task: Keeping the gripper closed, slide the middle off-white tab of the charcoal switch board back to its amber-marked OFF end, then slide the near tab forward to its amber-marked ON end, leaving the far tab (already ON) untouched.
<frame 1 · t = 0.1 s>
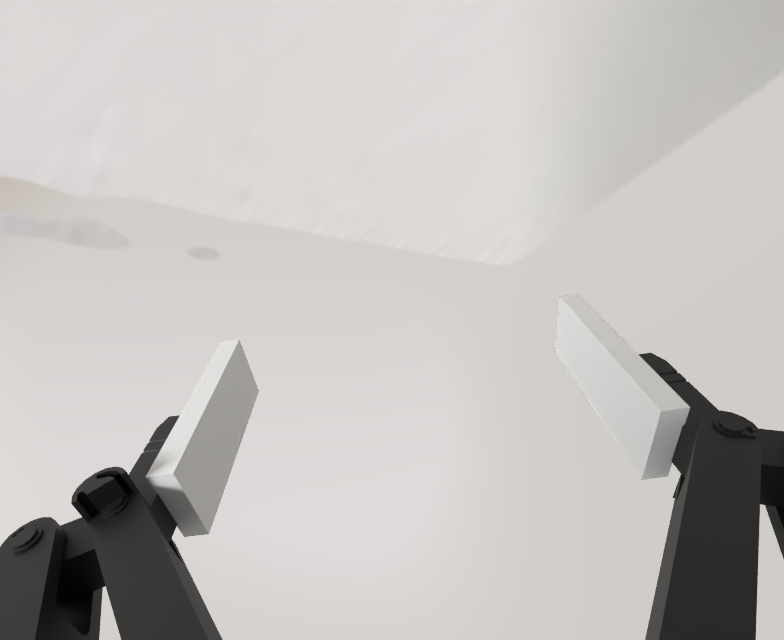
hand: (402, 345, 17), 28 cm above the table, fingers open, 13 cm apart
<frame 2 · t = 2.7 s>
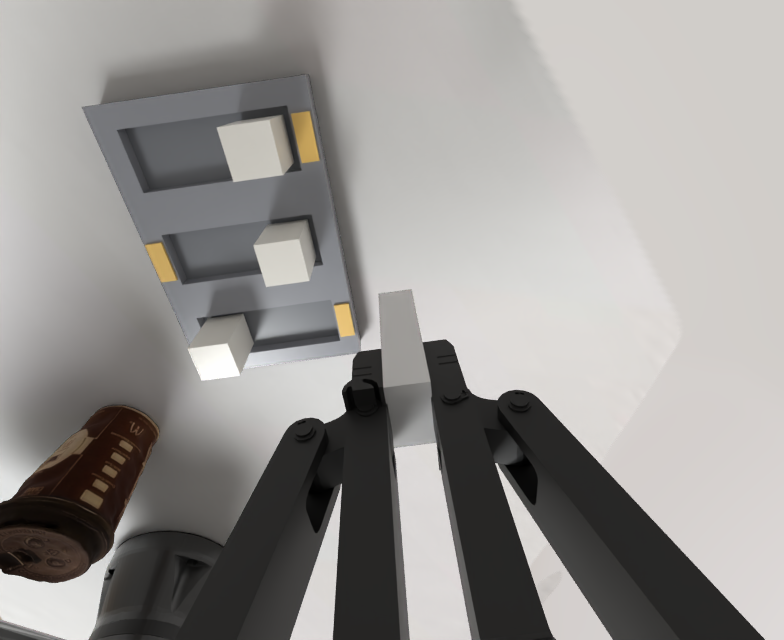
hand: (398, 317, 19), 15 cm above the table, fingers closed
tab C: (259, 146, 26), point 4 cm above the table, slide at 7.0 cm
tab B: (287, 251, 29), point 4 cm above the table, slide at 7.0 cm
tab A: (223, 345, 33), point 4 cm above the table, slide at 0.0 cm
switch board: (251, 241, 32), on the table
coffee cup: (125, 426, 41), on the table
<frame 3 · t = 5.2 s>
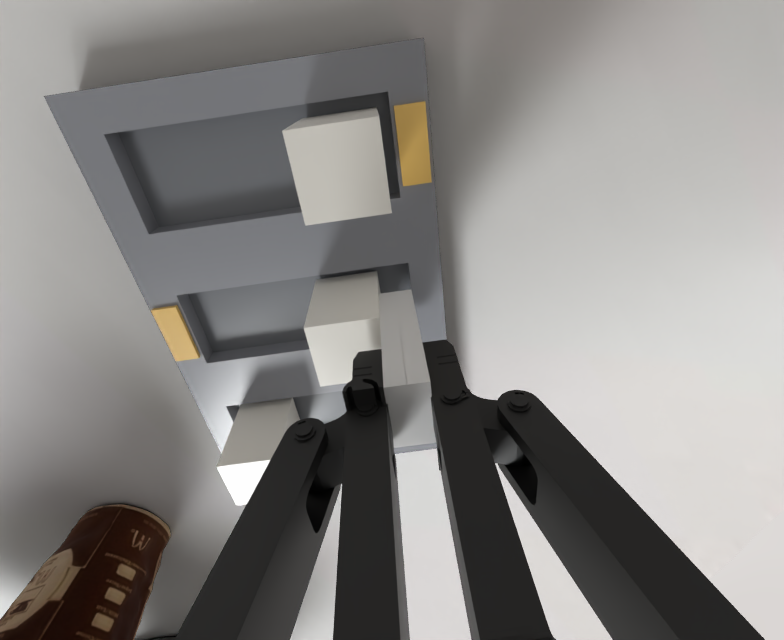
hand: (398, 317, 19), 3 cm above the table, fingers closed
tab C: (343, 161, 15), point 4 cm above the table, slide at 7.0 cm
tab B: (350, 325, 19), point 4 cm above the table, slide at 6.0 cm, touching gripper
tab A: (265, 448, 23), point 4 cm above the table, slide at 0.0 cm
switch board: (307, 297, 22), on the table
coffee cup: (126, 525, 31), on the table
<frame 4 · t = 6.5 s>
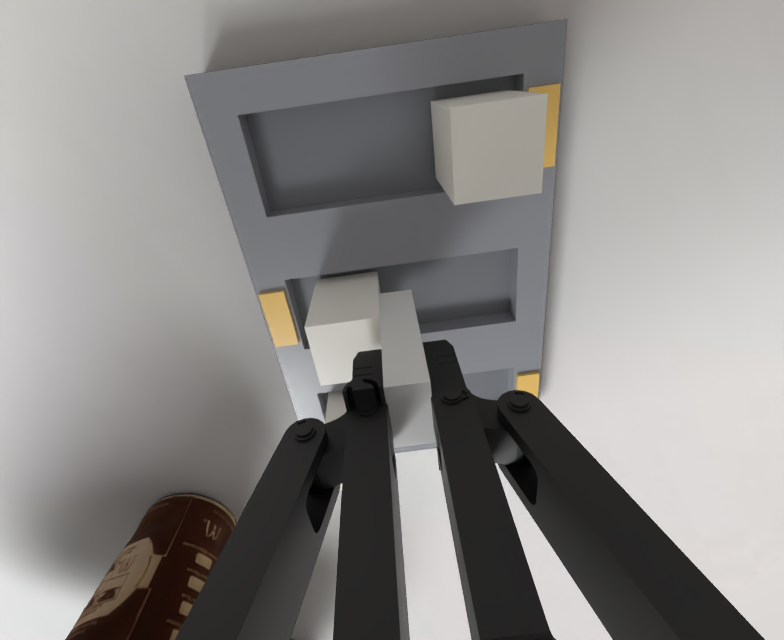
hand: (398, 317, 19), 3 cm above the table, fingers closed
tab C: (481, 143, 15), point 4 cm above the table, slide at 7.0 cm
tab B: (350, 325, 19), point 4 cm above the table, slide at 0.8 cm, touching gripper
tab A: (358, 435, 23), point 4 cm above the table, slide at 0.0 cm
switch board: (402, 284, 22), on the table
coffee cup: (191, 516, 31), on the table
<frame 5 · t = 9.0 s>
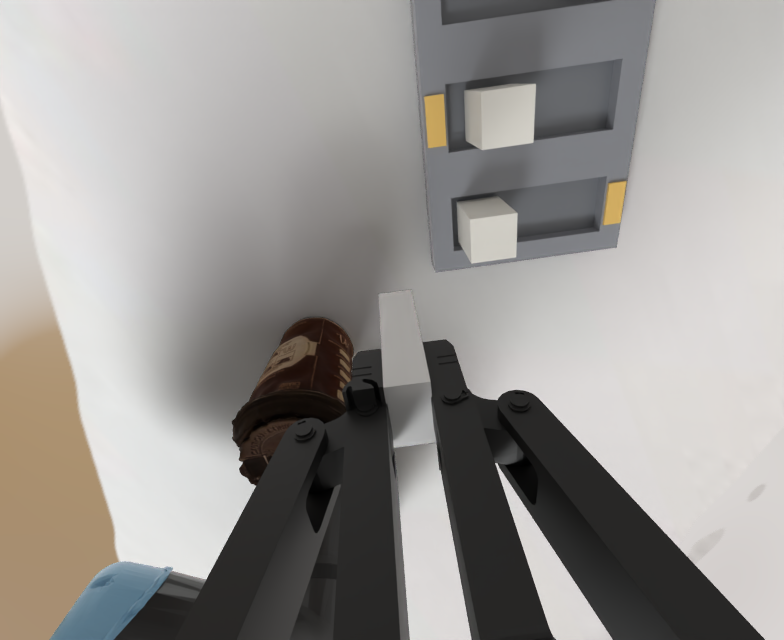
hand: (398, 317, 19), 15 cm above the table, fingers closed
tab B: (497, 115, 25), point 4 cm above the table, slide at 0.8 cm
tab A: (485, 228, 29), point 4 cm above the table, slide at 0.0 cm
switch board: (521, 106, 28), on the table
coffee cup: (315, 345, 37), on the table
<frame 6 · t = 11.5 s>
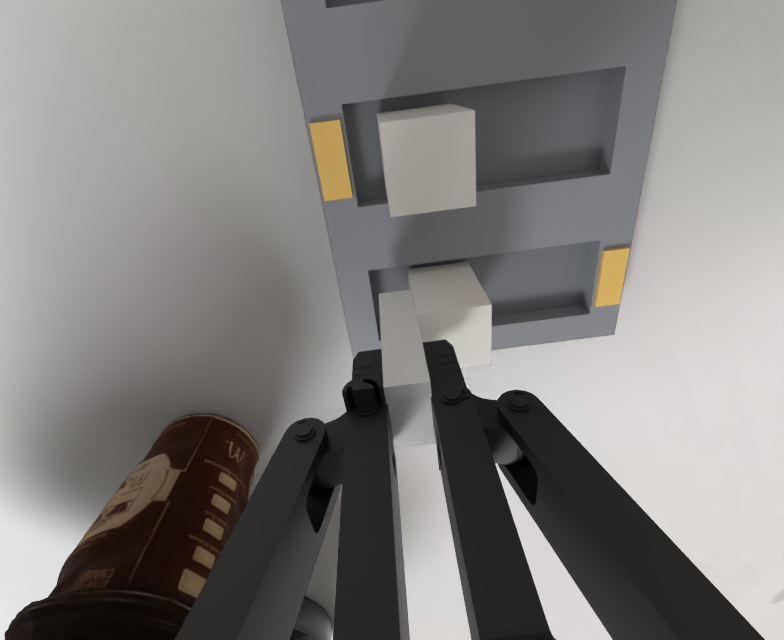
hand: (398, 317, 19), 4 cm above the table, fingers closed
tab B: (422, 156, 16), point 4 cm above the table, slide at 0.8 cm
tab A: (446, 314, 19), point 4 cm above the table, slide at 1.4 cm, touching gripper
switch board: (472, 135, 19), on the table
coffee cup: (209, 445, 28), on the table
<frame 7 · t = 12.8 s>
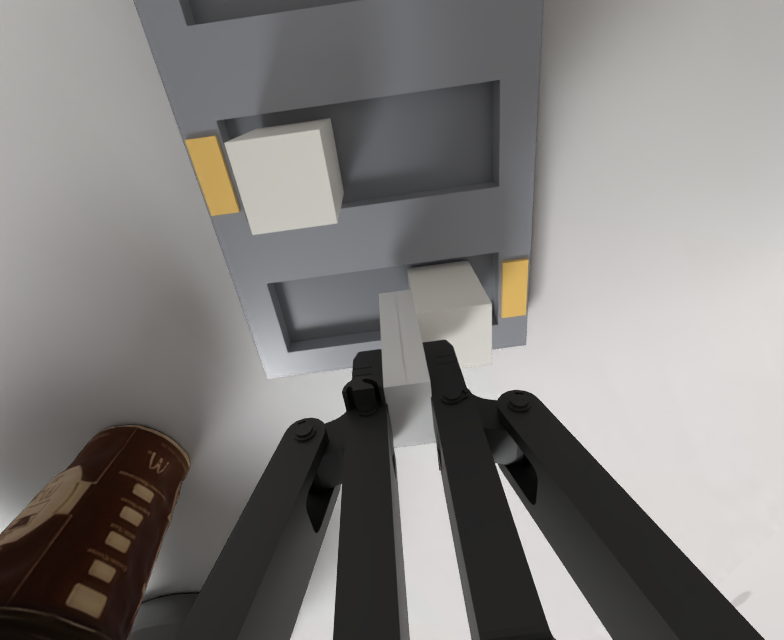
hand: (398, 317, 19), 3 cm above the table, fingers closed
tab B: (294, 172, 15), point 4 cm above the table, slide at 0.8 cm
tab A: (446, 313, 19), point 4 cm above the table, slide at 6.2 cm, touching gripper
switch board: (365, 148, 18), on the table
coffee cup: (139, 454, 28), on the table
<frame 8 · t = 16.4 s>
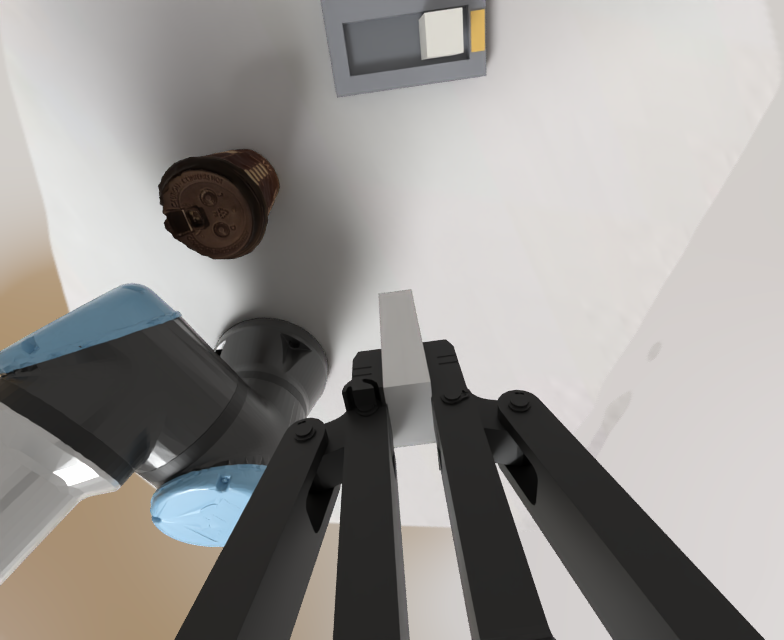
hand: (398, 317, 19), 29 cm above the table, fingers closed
tab A: (440, 35, 35), point 4 cm above the table, slide at 6.2 cm
coffee cup: (248, 180, 44), on the table
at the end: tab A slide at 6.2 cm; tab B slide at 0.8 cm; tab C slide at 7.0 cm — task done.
